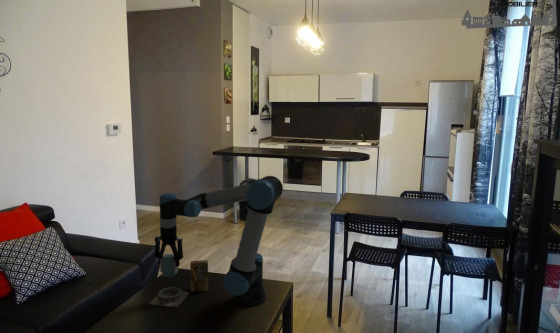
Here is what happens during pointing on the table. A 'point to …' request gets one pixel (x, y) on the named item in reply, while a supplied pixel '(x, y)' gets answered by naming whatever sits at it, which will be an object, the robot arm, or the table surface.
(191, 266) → the candy box
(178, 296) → the square base with ring
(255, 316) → the table surface
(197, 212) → the robot arm
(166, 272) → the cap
